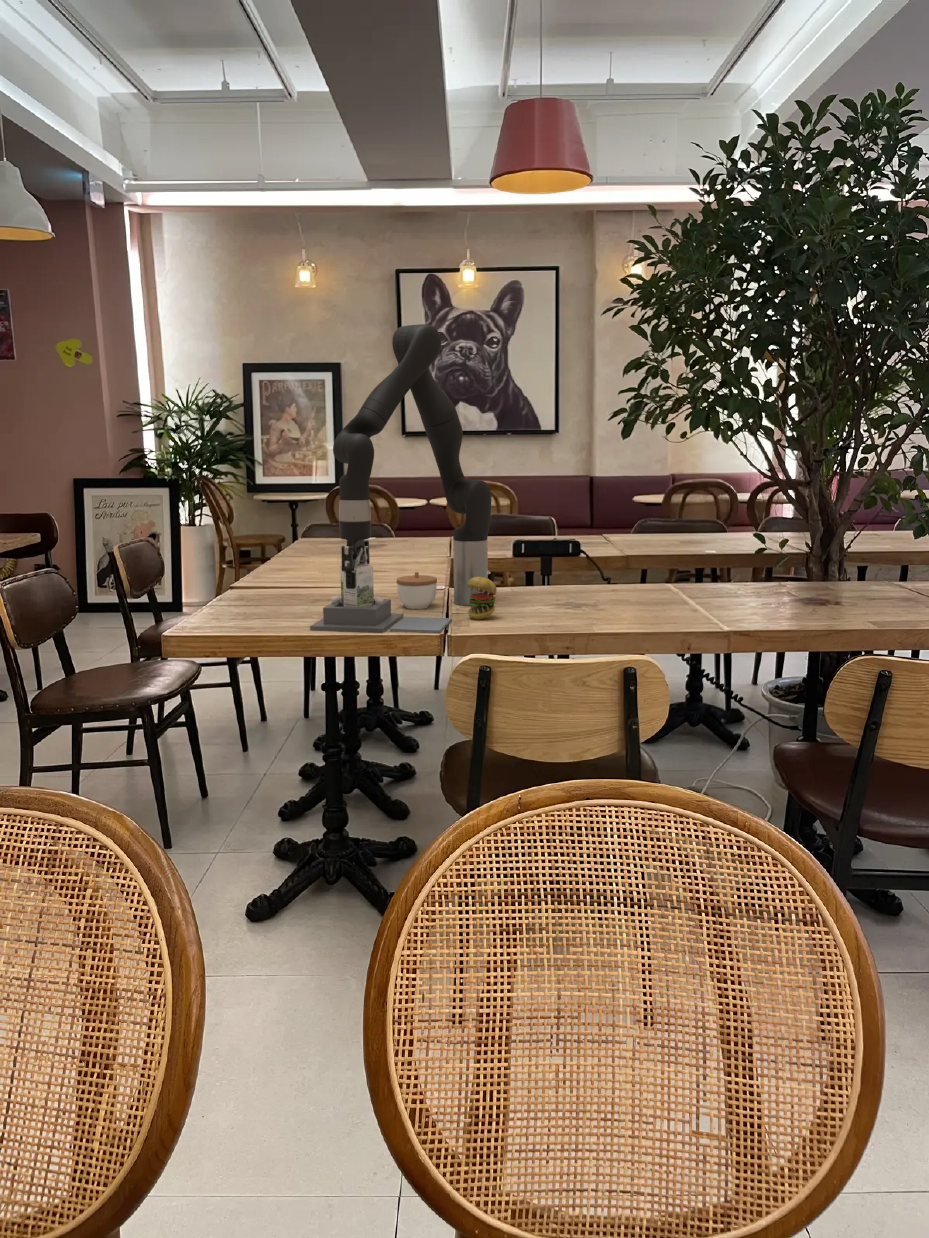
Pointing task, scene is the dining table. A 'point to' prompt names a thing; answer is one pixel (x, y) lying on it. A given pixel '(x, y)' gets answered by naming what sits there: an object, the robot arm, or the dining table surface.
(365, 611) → the holder
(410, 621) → the mat
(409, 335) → the robot arm
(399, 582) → the lidded jar
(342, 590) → the syrup box
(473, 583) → the hamburger
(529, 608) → the dining table surface
